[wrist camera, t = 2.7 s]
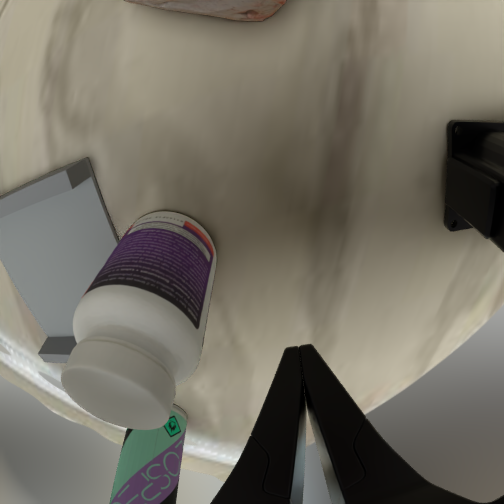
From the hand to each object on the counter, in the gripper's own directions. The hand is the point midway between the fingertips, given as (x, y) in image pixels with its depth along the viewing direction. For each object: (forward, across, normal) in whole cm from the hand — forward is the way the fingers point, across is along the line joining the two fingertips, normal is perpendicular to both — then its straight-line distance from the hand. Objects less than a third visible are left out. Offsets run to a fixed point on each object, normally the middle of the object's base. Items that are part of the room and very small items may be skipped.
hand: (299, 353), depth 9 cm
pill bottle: (+8, +6, 0) cm, 10 cm away
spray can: (+8, +14, +17) cm, 24 cm away
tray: (+8, +14, 0) cm, 17 cm away
